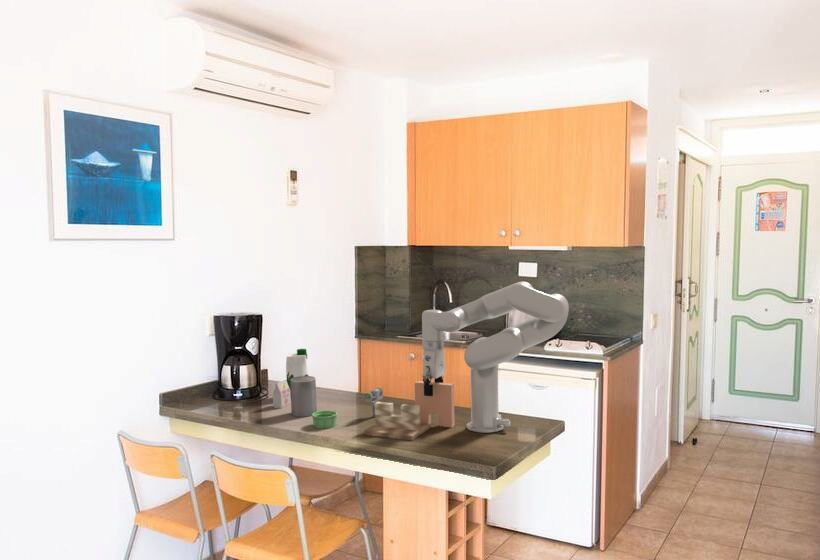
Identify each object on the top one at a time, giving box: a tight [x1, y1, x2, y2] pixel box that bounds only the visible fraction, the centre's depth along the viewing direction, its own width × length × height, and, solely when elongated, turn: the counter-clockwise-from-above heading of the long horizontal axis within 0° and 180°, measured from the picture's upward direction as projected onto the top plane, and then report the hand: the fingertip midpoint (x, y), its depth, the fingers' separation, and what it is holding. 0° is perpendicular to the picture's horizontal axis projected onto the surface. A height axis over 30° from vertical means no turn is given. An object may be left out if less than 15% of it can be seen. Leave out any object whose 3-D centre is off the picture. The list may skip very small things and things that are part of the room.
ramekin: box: [311, 410, 338, 429], centre depth 249 cm, size 9×9×4 cm
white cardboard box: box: [272, 379, 291, 409], centre depth 278 cm, size 4×7×10 cm, turn 156°
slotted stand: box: [363, 401, 431, 441], centre depth 239 cm, size 18×15×10 cm
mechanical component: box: [364, 387, 384, 418], centre depth 258 cm, size 3×10×10 cm, turn 152°
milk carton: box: [285, 348, 309, 395], centre depth 293 cm, size 9×9×20 cm
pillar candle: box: [290, 375, 318, 418], centre depth 265 cm, size 10×10×15 cm
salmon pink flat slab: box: [414, 380, 456, 428], centre depth 246 cm, size 14×2×15 cm, turn 66°
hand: (433, 392), depth 246 cm, fingers open, 9 cm apart
